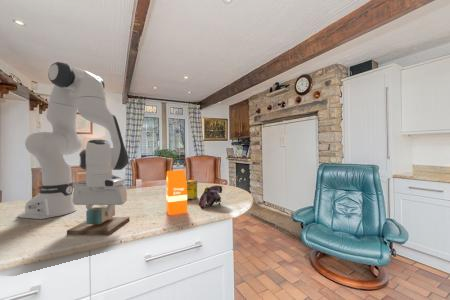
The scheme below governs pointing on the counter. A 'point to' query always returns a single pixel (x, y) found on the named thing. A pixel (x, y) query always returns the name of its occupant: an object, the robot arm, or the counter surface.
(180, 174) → the orange juice
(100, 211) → the beech block
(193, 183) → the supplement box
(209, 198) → the decorative flower
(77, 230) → the chopping board
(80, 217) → the counter surface
